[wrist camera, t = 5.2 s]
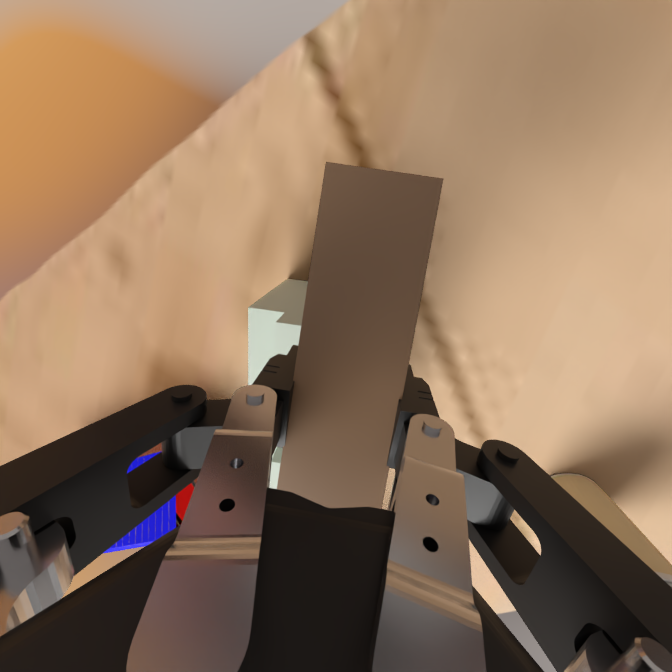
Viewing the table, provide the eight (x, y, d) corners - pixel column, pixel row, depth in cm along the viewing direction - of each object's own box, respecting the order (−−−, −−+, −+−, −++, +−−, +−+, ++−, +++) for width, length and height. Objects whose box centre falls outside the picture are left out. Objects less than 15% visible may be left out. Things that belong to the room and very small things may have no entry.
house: (85, 444, 43) (-14, 523, 32) (208, 409, 38) (140, 488, 27) (133, 509, 46) (59, 599, 36) (252, 484, 42) (207, 579, 31)
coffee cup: (529, 535, 39) (590, 666, 27) (509, 478, 36) (567, 597, 25) (616, 519, 36) (721, 656, 25) (601, 457, 33) (712, 579, 22)
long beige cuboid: (412, 223, 14) (443, 178, 9) (360, 511, 16) (363, 606, 11) (335, 211, 14) (325, 162, 9) (291, 498, 16) (262, 585, 11)
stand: (391, 292, 30) (398, 339, 19) (369, 415, 35) (365, 509, 24) (287, 278, 31) (236, 316, 20) (281, 401, 36) (238, 485, 25)
